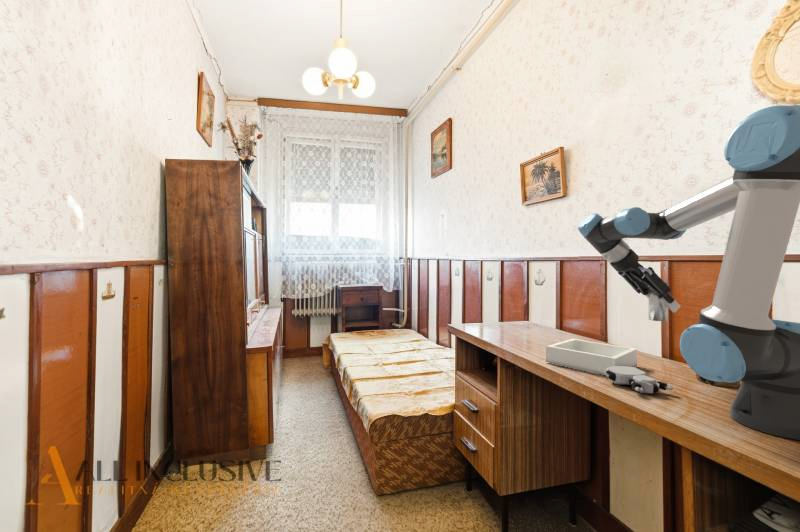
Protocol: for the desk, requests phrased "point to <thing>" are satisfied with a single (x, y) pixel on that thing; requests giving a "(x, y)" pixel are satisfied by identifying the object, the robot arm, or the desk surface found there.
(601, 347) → the bin
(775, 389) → the robot arm
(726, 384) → the bread roll
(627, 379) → the robot toy
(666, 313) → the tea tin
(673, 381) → the desk surface
